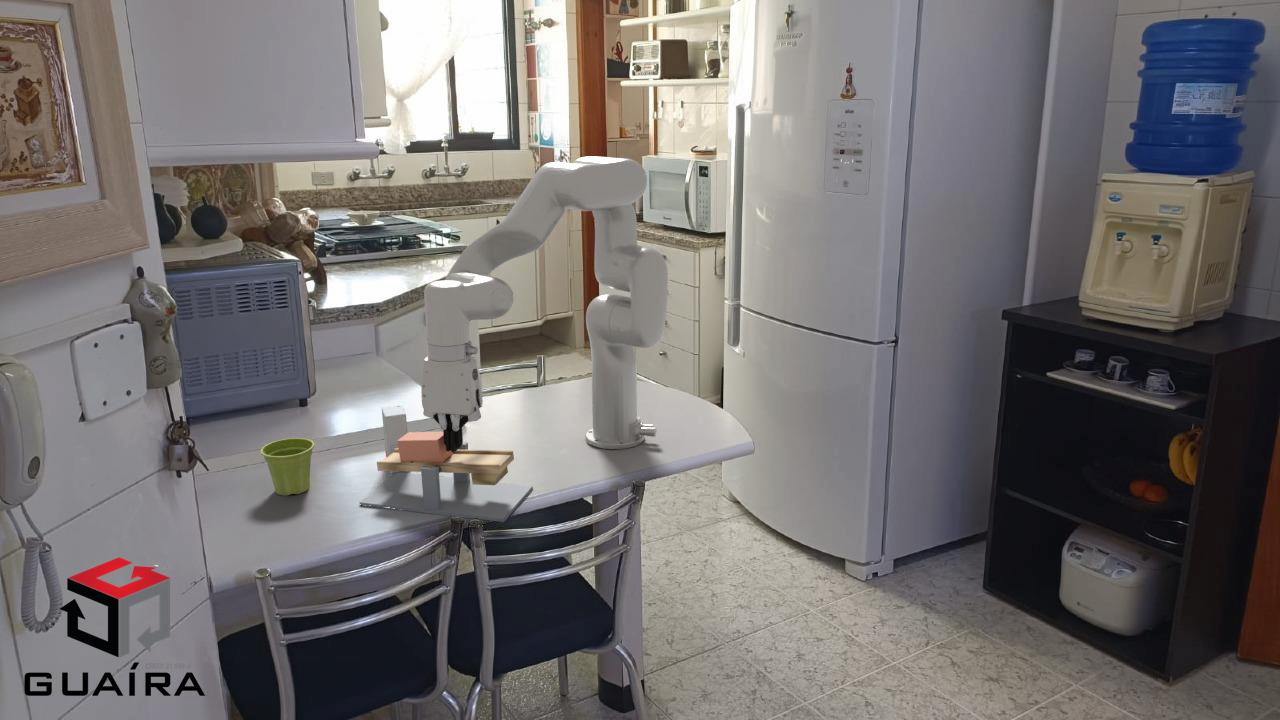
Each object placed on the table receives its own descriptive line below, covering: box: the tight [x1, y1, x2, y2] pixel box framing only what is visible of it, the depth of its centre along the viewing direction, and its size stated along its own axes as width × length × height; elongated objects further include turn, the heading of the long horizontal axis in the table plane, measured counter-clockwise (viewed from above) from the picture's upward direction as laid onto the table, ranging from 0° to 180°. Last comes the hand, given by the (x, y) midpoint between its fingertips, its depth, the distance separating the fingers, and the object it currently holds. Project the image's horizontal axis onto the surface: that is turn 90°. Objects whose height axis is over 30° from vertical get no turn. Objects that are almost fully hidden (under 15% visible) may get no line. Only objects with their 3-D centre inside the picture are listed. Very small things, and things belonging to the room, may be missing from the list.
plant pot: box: [260, 437, 315, 497], centre depth 176 cm, size 9×9×9 cm
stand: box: [359, 441, 534, 523], centre depth 173 cm, size 28×14×8 cm, turn 76°
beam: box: [376, 448, 515, 485], centre depth 173 cm, size 24×10×4 cm, turn 76°
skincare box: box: [381, 404, 408, 474], centre depth 187 cm, size 6×4×12 cm
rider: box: [397, 431, 452, 463], centre depth 172 cm, size 8×4×4 cm, turn 76°
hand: (453, 448), depth 171 cm, fingers closed
